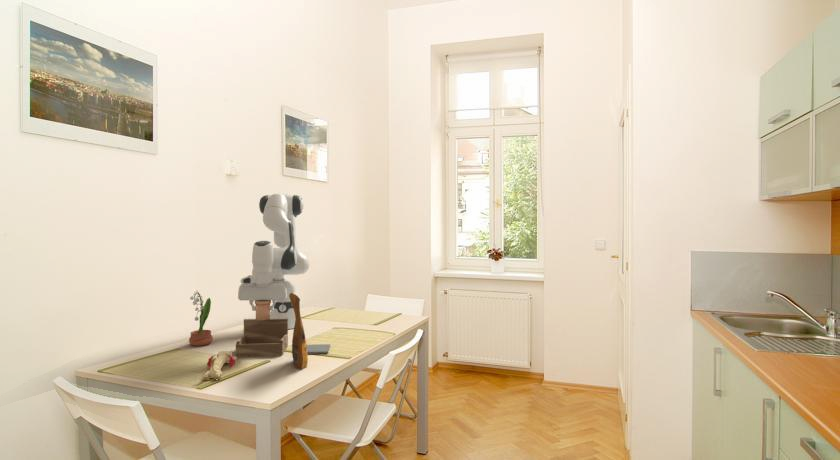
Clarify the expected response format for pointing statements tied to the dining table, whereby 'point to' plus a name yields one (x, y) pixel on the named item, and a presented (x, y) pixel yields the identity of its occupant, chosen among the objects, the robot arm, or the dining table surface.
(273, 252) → the robot arm
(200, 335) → the potted flower
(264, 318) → the terracotta pot
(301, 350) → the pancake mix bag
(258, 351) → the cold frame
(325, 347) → the rubber mat
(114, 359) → the dining table surface
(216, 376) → the cream toy figurine
